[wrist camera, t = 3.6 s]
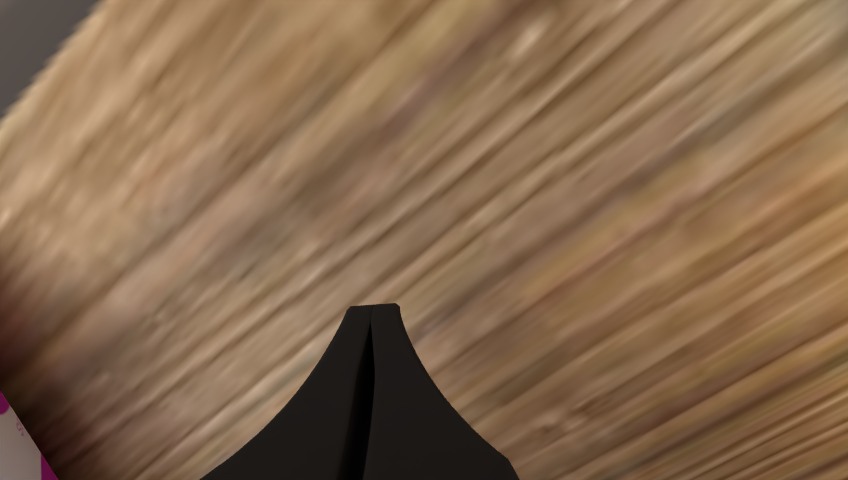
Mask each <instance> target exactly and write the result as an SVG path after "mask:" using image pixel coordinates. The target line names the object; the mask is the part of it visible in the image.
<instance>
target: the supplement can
mask: <svg viewBox="0 0 848 480" xmlns="http://www.w3.org/2000/svg"><path fill="white" fill-rule="evenodd" d="M0 480H58V478H57V477H56V475H55V474H54V472H53V471H52V469H51V468H50V466H49V464H48V463H47V461H46V460H45V458H44V457H43V455H42V454H41V452H40V451H39V449H38V448H37V446H36V445H35V443H34V441H33V440H32V438H31V437H30V435H29V434H28V432H27V431H26V429H25V428H24V426H23V425H22V423H21V422H20V420H19V418H18V417H17V415H16V414H15V412H14V411H13V409H12V408H11V406H10V405H9V403H8V402H7V400H6V398H5V397H4V395H3V394H2V392H1V391H0Z"/></svg>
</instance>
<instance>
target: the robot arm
mask: <svg viewBox="0 0 848 480" xmlns="http://www.w3.org/2000/svg"><path fill="white" fill-rule="evenodd" d="M200 480H519V478H518V476H517V474H516V472H515V470H514V469H513V467H512V465H511V463H510V461H509V460H508V459H507V458H506V457H505V456H503V455H502V454H501V453H500V452H498V451H497V450H496V449H495V448H493V447H492V446H491V445H490V444H489V443H488V442H486V441H485V440H484V439H483V438H482V437H481V436H480V435H479V434H478V433H477V432H476V431H475V430H474V429H472V428H471V426H470V425H469V424H468V423H467V422H466V421H465V420H464V419H463V418H462V417H461V416H460V415H459V414H458V412H457V411H456V410H455V409H454V408H453V407H452V406H451V404H450V403H449V402H448V401H447V400H446V398H445V397H444V396H443V394H442V393H441V392H440V390H439V389H438V388H437V386H436V385H435V383H434V382H433V380H432V379H431V377H430V376H429V374H428V373H427V371H426V369H425V368H424V366H423V365H422V363H421V361H420V359H419V357H418V356H417V354H416V352H415V350H414V348H413V346H412V344H411V342H410V339H409V337H408V335H407V332H406V330H405V327H404V324H403V321H402V318H401V313H400V306H398V305H397V304H396V303H391V304H377V305H363V306H351V307H350V308H349V309H348V310H347V311H346V314H345V316H344V318H343V320H342V322H341V324H340V326H339V328H338V330H337V332H336V334H335V336H334V338H333V339H332V341H331V343H330V344H329V346H328V348H327V349H326V351H325V353H324V354H323V356H322V358H321V359H320V361H319V362H318V364H317V365H316V367H315V368H314V369H313V371H312V372H311V374H310V375H309V377H308V378H307V379H306V381H305V382H304V383H303V385H302V386H301V387H300V389H299V390H298V391H297V392H296V394H295V395H294V396H293V397H292V398H291V400H290V401H289V402H288V403H287V404H286V405H285V407H284V408H283V409H282V410H281V411H280V412H279V413H278V414H277V415H276V416H275V417H274V418H273V419H272V420H271V421H270V422H269V423H268V424H267V425H266V426H265V427H264V428H263V429H262V430H261V431H260V432H259V433H258V434H257V435H256V436H255V437H254V438H252V439H251V440H250V441H249V442H248V443H247V444H246V445H244V446H243V447H242V448H241V449H240V450H239V451H238V452H236V453H235V454H234V455H233V456H231V457H230V458H229V459H227V460H226V461H225V462H223V463H222V464H221V465H219V466H218V467H216V468H215V469H214V470H212V471H211V472H209V473H208V474H207V475H205V476H204V477H203V478H201V479H200Z"/></svg>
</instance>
